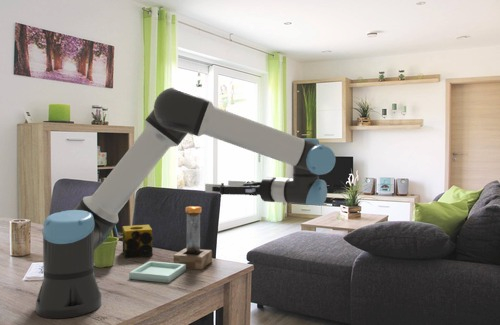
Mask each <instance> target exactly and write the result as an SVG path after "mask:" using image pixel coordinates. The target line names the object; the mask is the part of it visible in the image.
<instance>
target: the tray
mask: <svg viewBox="0 0 500 325" xmlns="http://www.w3.org/2000/svg"><path fill="white" fill-rule="evenodd" d="M186 271H187V268H186V264H177V263H174V262H165V261H163V262H162V261H154V260H153V261H152V260H149V261H147V262H145V263H144V264H142V265H140V266H138V267H136V268H135V269H132V270H131V271H129V273H128V274H129V275H128V276H129V279H130V280H131V279H132V280H138V281H140V280H141V281H147V282H148V281H150V282H156V283H157V282H158V283H160V282H161V283H170V282H172V281H174V280H175V279H177V277H179V276H180V275H182V274H183V273H185V272H186Z"/></svg>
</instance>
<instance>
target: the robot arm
mask: <svg viewBox="0 0 500 325" xmlns="http://www.w3.org/2000/svg"><path fill="white" fill-rule="evenodd" d="M144 125H145V127H144V130H143V131H141V133H140V135H139V136H138V137H137V138H136V140H135V141H134V142H133V144H132V145H131V146H130V147H129V149H128V150H127V151H126V152H125V154H124V155H123V157H121V159H119V161H118V162H117V164H116V165H115V166H114V168H112V170H111V171H110V173H109V174H108V175H107V177H106V178H105V179H104V180H103V181H102V183H101V184H100V185H99V186H98V188H97V189H96V190H95V192H94V193H93V194H92V195H89V196H88V195H87V196H83V198H82V199H81V200H80V201H79V202H78V204H77V205H76V206H75V208H74V209H70V210H61V211H60V212H54V213H52V214H50V215H48V216H46V218H45V219H44V220H43V228H42V232H41V234H42V248H43V249H42V250H43V251H42V253H43V255H42V256H43V265H42V266H43V279H42V283H41V286H40V289H39V292H38V295H37V298H36V301H35V313H36V314H37V315H38V316H40V317H42V318H46V319H48V318H49V319H67V318H68V319H69V318H75V317H79V316H83V315H87V314H90V313H92V312H94V311H96V310H98V309H99V308H100V307H101V305H102V292H101V291H100V287H99V285H98V282H97V279H96V275H95V265H94V250H95V249H96V248H97V247H98V246H99V245H101V244H102V243H103V242H104V241H105V240H106V238H107V237H109V234H110V233H111V231H112V230H113V229H114V228H115V227H116V225H117V224H118V223H119V222H120V221H119V213H120V211H121V210H122V209H123V208H124V206H125V205H126V204H127V203H128V201H129V200H130V199H131V198H132V196H133V195H134V194H135V192H137V190H138V189H139V187H140V186H141V185H142V184H143V182H144V181H145V180H146V178H147V177H148V176H149V175H150V173H151V172H152V171H153V170H154V168H155V167H156V166H157V164H158V163H159V162H160V161H161V159H162V158H163V157H164V156H165V154H166V153H167V152H168V151H169V149H171V148H172V147H178V146H179V145H180V144H181V143H182V141H183V140H184V139H185V138H186V136H187V135H188V134H189V135H190V134H191V135H192V136H196V137H202V136H203V135H205V136H208V137H210V138H214V139H216V140H219V141H222V142H225V143H228V144H230V145H234V146H236V147H239V148H242V149H245V150H248V151H250V152H253V153H256V154H259V155H261V156H265V157H266V158H269V159H273V160H276V161H277V162H282V163H284V164H288V165H290V166H292V171H293V172H292V176H293V177H292V178H291V177H272V176H271V177H269V176H266V177H263V179H261V181H253V180H251V181H245V180H244V181H243V180H227V184H224V182H222V183H221V184H219V183H204V192H205V193H208V194H209V193H210V194H211V193H212V194H219V195H220V196H221V195H222V196H223V195H237V196H239V195H243V196H253V197H254V196H255V197H256V196H260V198H261V201H263V202H267V203H268V202H269V203H275V202H276V203H282V205H283V206H285V205H286V204H293V205H296V204H297V205H305V206H322V205H323V204H324V203H325V202H326V200H327V196H328V188H327V186H328V185H327V182H326V181H325V180H324V179H320V175H321V176H322V175H326V174H328V173H330V172H331V171H332V170H333V168H334V167H335V164H336V161H337V160H336V155H335V152H334V151H333V150H332V149H331V148H330V147H329V146H327V145H324V144H320V141H319V139H318V138H301V137H298V136H296V135H294V134H291V133H287V132H285V131H282V130H279V129H277V128H273V127H271V126H268V125H266V124H263V123H260V122H258V121H254V120H252V119H250V118H247V117H244V116H241V115H238V114H235V113H232V112H230V111H228V110H225V109H222V108H219V107H217V106H214V104H213V102H212V101H211V100H209V99H206V98H204V97H201V96H199V95H197V94H195V93H193V92H191V91H189V90H187V89H185V88H184V87H183V88H182V87H178V86H177V87H176V86H175V87H169V88H166V89H164V90H162V92H160V93H159V95H157V96H156V99H155V101H154V105H153V110H152V111H151V112H150V113H149V114H148V116H147V117H146V118H145V119H144Z"/></svg>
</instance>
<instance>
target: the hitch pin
mask: <svg viewBox="0 0 500 325" xmlns="http://www.w3.org/2000/svg"><path fill="white" fill-rule="evenodd" d="M202 208H203V207H202V206H193V205H191V206H186V207H185V213H186V248H187V254H189V255H199V254H200V249H201V213H202V211H203V210H202Z"/></svg>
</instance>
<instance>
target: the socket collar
mask: <svg viewBox="0 0 500 325" xmlns="http://www.w3.org/2000/svg"><path fill="white" fill-rule="evenodd" d="M212 261H213V250H212V249H201V248H200V254H199V255H189V254H187V247H185V248H183V249H182V250H180V251H178V252H176V253H175V254H173V263H177V264H186V269H192V270H203V269H204V268H206V267H207V266H208V265H210V264H211V263H212Z"/></svg>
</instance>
